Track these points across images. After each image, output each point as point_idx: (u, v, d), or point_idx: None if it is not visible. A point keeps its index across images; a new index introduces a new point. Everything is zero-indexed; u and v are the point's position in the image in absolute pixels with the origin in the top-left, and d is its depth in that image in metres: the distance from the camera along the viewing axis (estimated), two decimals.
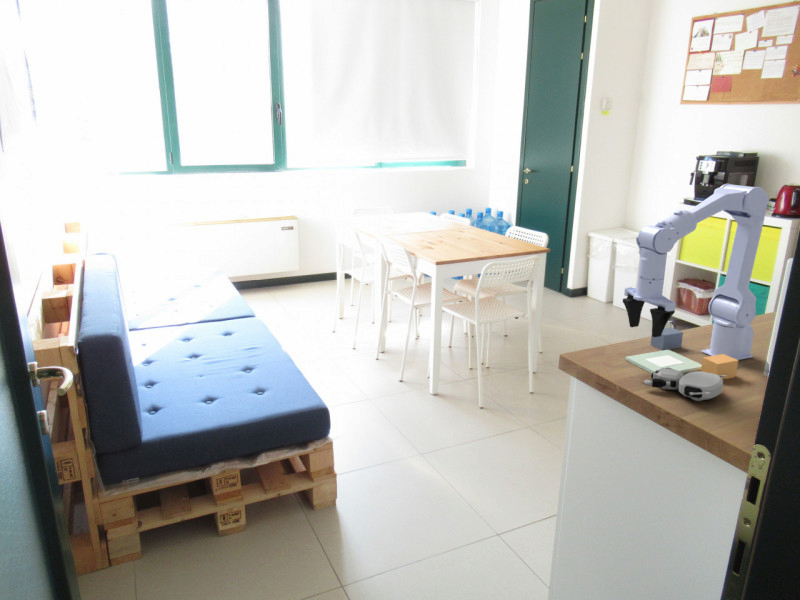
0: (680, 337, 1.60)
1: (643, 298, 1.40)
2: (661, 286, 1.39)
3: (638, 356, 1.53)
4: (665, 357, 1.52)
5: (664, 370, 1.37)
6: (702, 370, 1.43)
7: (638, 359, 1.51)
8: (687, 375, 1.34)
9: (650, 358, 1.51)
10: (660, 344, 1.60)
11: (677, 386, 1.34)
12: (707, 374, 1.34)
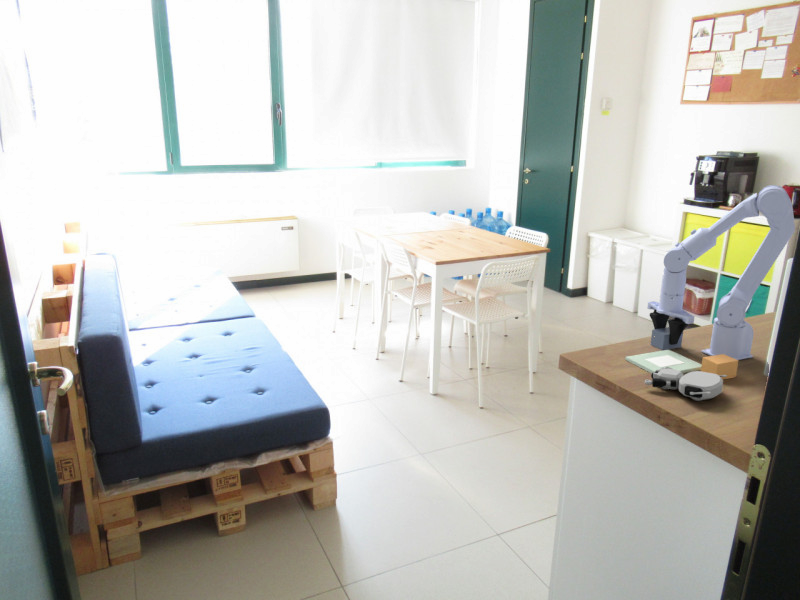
0: (680, 336, 1.60)
1: (665, 312, 1.57)
2: (681, 301, 1.56)
3: (638, 356, 1.53)
4: (665, 357, 1.52)
5: (664, 370, 1.37)
6: (702, 370, 1.43)
7: (638, 359, 1.51)
8: (687, 375, 1.34)
9: (650, 358, 1.51)
10: (660, 343, 1.60)
11: (677, 386, 1.34)
12: (707, 374, 1.34)
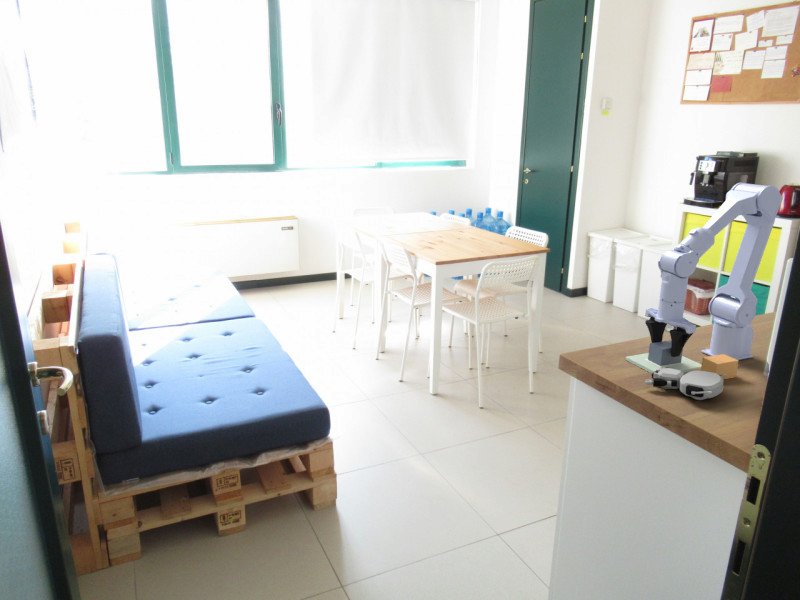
0: None
1: (664, 320, 1.44)
2: (682, 309, 1.43)
3: (638, 356, 1.53)
4: None
5: (664, 370, 1.37)
6: (702, 370, 1.44)
7: (638, 359, 1.51)
8: (688, 374, 1.34)
9: None
10: (658, 359, 1.47)
11: (678, 385, 1.34)
12: (707, 373, 1.34)
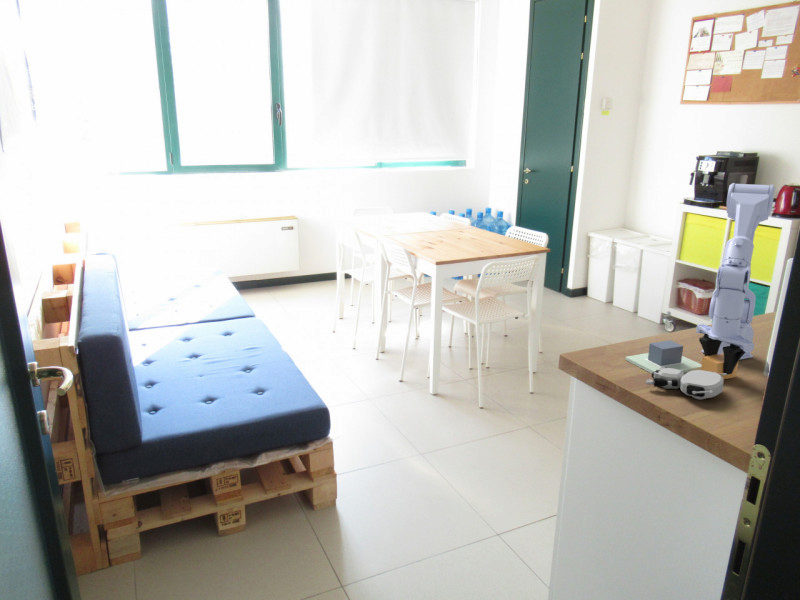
0: (680, 351, 1.48)
1: (719, 337, 1.38)
2: (738, 326, 1.37)
3: (638, 356, 1.53)
4: None
5: (665, 369, 1.37)
6: (702, 369, 1.43)
7: (638, 359, 1.51)
8: (688, 374, 1.35)
9: None
10: (658, 359, 1.47)
11: (678, 385, 1.34)
12: (707, 373, 1.35)
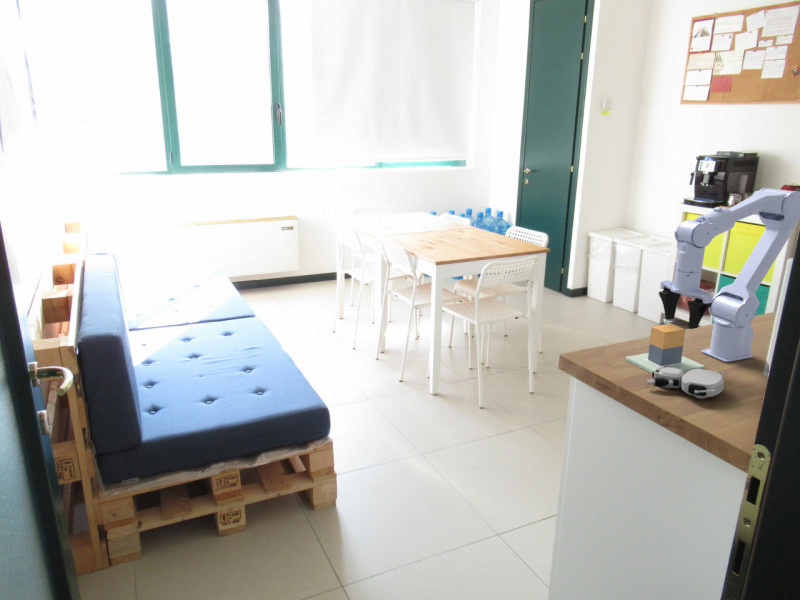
0: (680, 351, 1.48)
1: (681, 291, 1.44)
2: (698, 279, 1.43)
3: (638, 356, 1.53)
4: None
5: (665, 369, 1.38)
6: (651, 339, 1.48)
7: (638, 359, 1.51)
8: (688, 373, 1.35)
9: None
10: (658, 359, 1.47)
11: (679, 384, 1.35)
12: (707, 371, 1.35)
